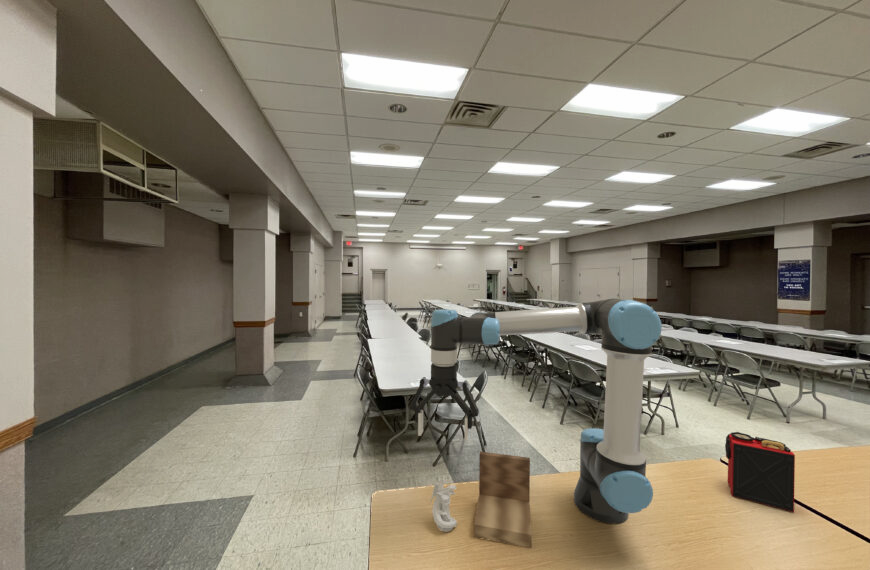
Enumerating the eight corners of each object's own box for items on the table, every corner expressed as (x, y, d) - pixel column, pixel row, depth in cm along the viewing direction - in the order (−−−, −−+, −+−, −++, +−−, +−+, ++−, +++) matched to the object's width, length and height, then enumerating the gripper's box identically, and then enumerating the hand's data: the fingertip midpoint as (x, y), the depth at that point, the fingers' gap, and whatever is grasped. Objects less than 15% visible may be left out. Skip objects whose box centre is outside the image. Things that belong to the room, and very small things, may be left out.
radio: (784, 496, 108) (785, 435, 108) (796, 514, 99) (798, 448, 99) (721, 480, 116) (722, 423, 116) (727, 496, 108) (728, 435, 108)
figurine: (459, 534, 91) (459, 490, 90) (431, 535, 90) (431, 492, 90) (453, 507, 101) (453, 468, 101) (428, 508, 101) (428, 469, 101)
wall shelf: (529, 510, 100) (529, 457, 100) (531, 548, 86) (532, 487, 86) (479, 502, 104) (480, 451, 104) (474, 537, 90) (474, 478, 89)
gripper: (488, 363, 96) (487, 435, 96) (407, 357, 102) (406, 426, 102) (486, 369, 89) (485, 448, 89) (398, 363, 95) (398, 437, 95)
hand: (443, 436), depth 96 cm, fingers open, 13 cm apart
